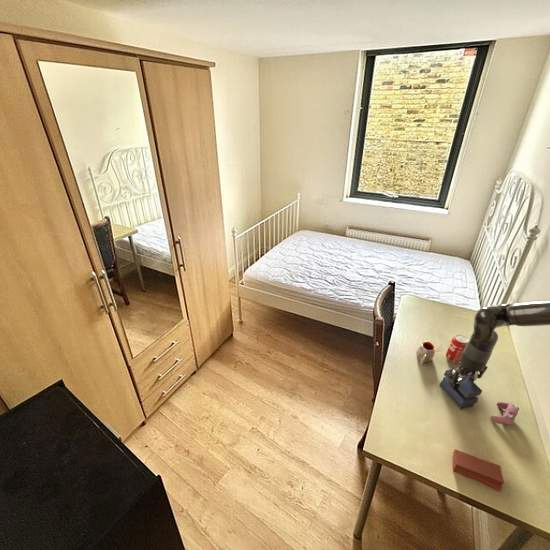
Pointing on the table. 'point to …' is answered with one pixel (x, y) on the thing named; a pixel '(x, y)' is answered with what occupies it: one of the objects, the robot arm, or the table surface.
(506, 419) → the pink lumpy piece
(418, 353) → the mug
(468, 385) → the dark blue flat block
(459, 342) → the beverage can
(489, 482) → the red brick
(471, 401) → the navy brick
